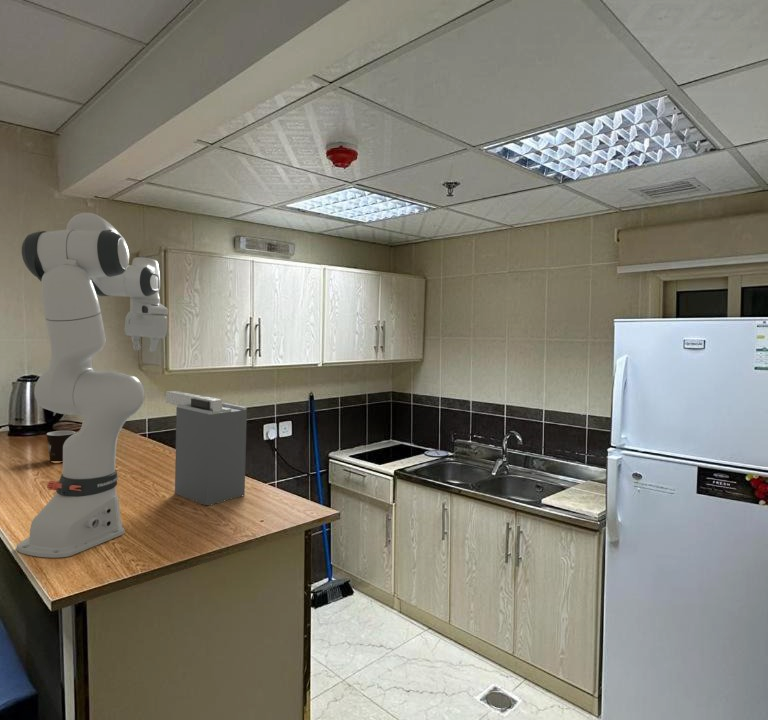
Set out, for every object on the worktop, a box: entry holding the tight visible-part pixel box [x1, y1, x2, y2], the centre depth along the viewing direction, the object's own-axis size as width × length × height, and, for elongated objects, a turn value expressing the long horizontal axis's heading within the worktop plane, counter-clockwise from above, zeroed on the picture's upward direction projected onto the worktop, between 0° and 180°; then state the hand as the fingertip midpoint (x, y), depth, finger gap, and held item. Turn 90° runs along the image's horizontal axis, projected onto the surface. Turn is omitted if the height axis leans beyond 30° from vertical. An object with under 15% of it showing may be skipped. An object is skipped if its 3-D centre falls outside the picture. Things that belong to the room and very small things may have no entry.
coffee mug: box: [46, 430, 76, 461], centre depth 186 cm, size 12×9×10 cm
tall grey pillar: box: [174, 402, 248, 506], centre depth 155 cm, size 16×13×27 cm
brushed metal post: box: [165, 390, 223, 413], centre depth 155 cm, size 24×4×4 cm, turn 53°
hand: (144, 350), depth 171 cm, fingers open, 8 cm apart
